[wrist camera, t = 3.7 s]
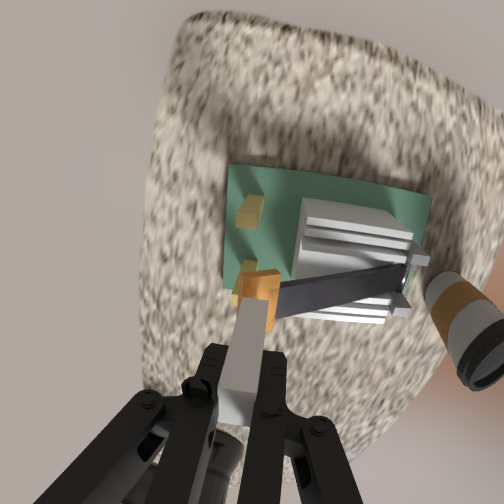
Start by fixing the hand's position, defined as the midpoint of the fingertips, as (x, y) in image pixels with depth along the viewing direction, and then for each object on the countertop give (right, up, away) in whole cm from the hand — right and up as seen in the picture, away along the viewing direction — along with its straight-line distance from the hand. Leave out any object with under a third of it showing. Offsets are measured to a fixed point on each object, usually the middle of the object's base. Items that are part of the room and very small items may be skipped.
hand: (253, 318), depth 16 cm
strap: (+6, +1, +4) cm, 8 cm away
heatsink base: (+8, +5, +14) cm, 17 cm away
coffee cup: (+25, -1, +14) cm, 29 cm away
